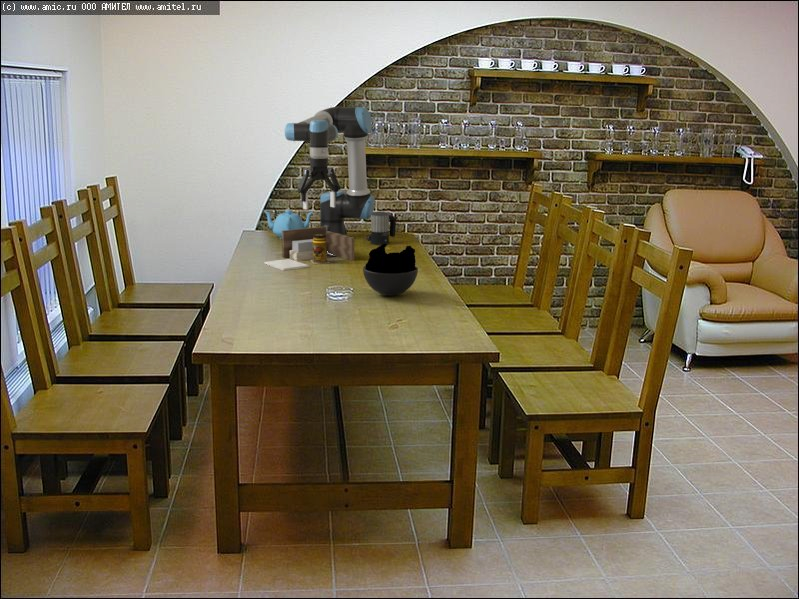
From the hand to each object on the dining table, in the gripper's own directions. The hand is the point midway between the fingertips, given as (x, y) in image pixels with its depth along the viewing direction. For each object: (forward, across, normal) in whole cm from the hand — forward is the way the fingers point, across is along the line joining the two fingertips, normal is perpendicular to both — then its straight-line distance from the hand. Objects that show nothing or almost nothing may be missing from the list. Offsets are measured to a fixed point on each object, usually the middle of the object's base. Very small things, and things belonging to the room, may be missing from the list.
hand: (319, 208), depth 366 cm
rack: (+23, +3, +5) cm, 24 cm away
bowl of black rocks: (+24, -11, -65) cm, 70 cm away
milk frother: (+23, +49, +25) cm, 60 cm away
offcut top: (+20, 0, +10) cm, 22 cm away
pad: (+23, -16, +1) cm, 28 cm away
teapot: (+23, +19, +57) cm, 65 cm away
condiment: (+24, 0, 0) cm, 24 cm away
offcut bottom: (+24, 0, +10) cm, 26 cm away
